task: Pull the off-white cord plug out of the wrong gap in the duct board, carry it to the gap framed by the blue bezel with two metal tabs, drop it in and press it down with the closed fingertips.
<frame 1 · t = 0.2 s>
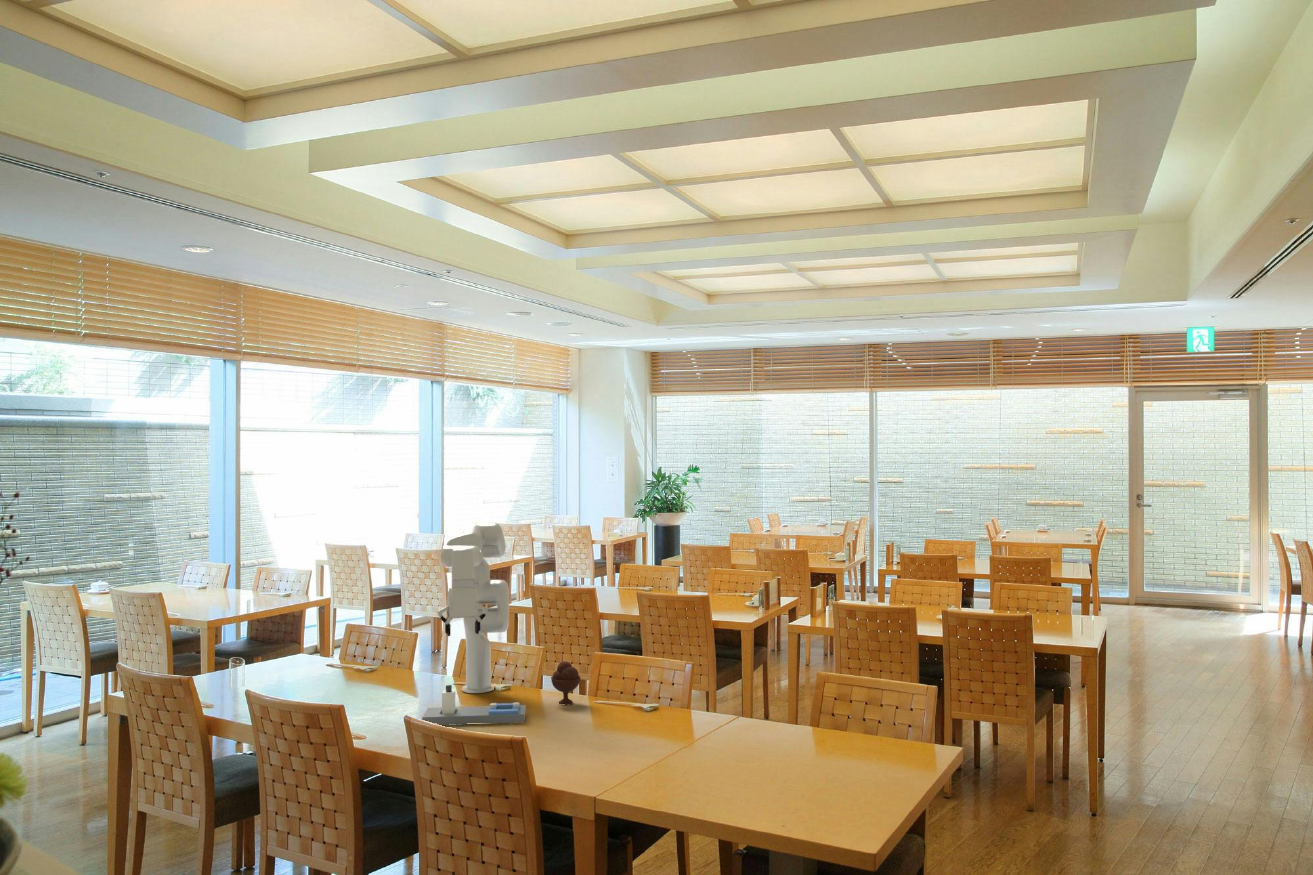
hand: (462, 634, 316), 30 cm above the table, tool pointing down, fingers open, 9 cm apart
cord plug: (448, 720, 318), resting in duct board
ice cream bowl: (565, 703, 340), on the table
duct board: (475, 719, 319), on the table
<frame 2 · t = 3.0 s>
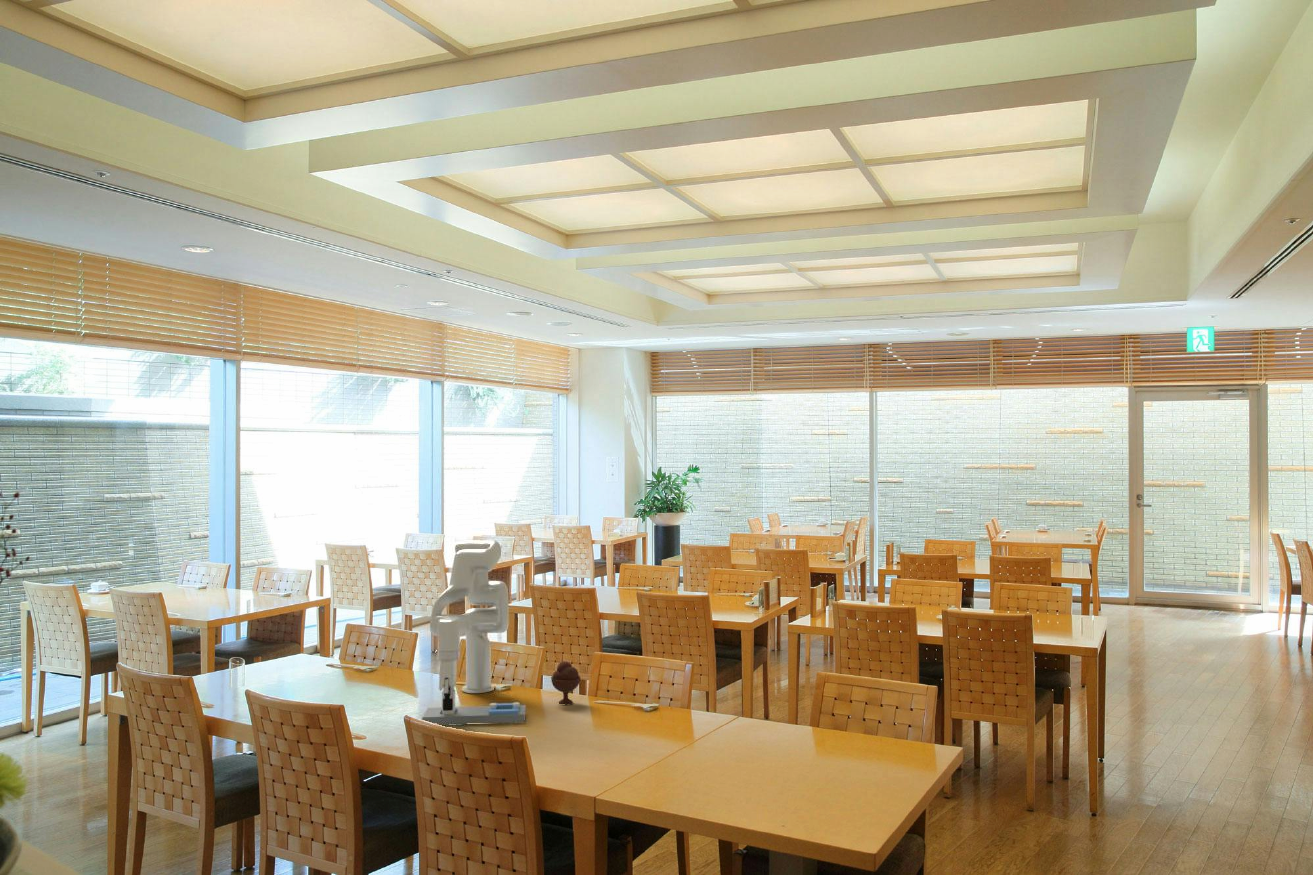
hand: (448, 707, 318), 4 cm above the table, tool pointing down, fingers closed on cord plug, 4 cm apart
cord plug: (448, 720, 318), resting in duct board, touching gripper
everything else where it was.
when the fingers open (6 cm above the table, at t = 10.0 s): cord plug drops 2 cm, resting in duct board.
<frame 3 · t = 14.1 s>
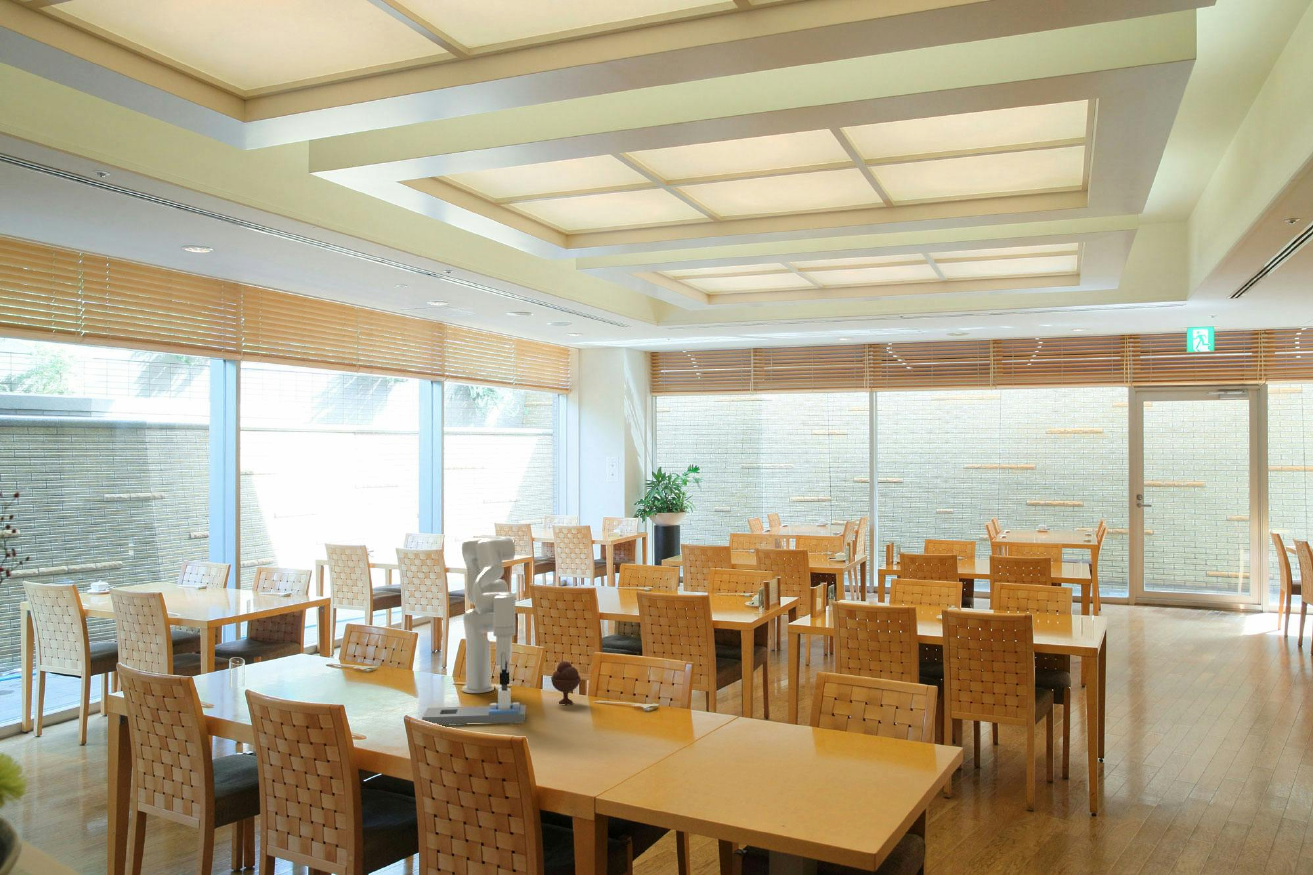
hand: (504, 683, 320), 12 cm above the table, tool pointing down, fingers closed
cord plug: (504, 718, 320), resting in duct board, touching gripper
everything else where it was.
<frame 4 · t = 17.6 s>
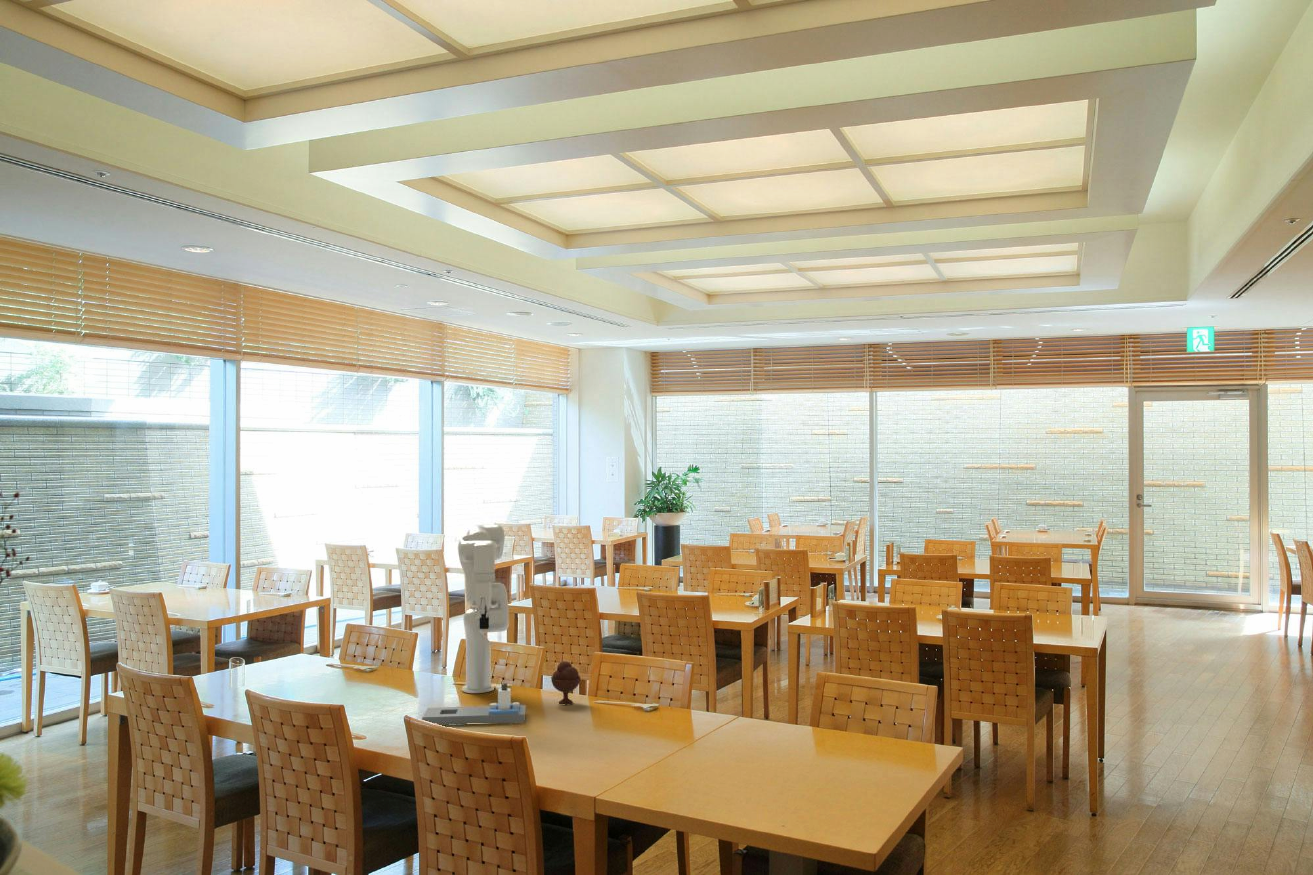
hand: (484, 628, 332), 29 cm above the table, tool pointing down, fingers closed
cord plug: (504, 718, 320), resting in duct board
everything else where it was.
at the end: cord plug 0.1 cm from the target spot on the duct board, point 0.0 cm above the duct board's base; cord plug tilted 0°; the gripper is holding nothing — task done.
